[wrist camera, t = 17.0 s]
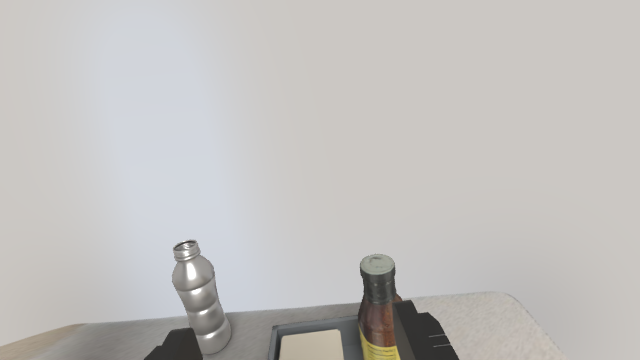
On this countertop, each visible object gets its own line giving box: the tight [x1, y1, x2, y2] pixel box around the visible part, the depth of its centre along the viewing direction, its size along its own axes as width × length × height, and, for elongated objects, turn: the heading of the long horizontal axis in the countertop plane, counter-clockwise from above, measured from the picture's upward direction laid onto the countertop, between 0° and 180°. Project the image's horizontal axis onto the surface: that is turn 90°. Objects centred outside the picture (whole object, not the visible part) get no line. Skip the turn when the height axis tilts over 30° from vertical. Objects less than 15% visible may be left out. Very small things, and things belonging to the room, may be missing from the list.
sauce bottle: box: [358, 254, 402, 360], centre depth 38 cm, size 7×6×20 cm
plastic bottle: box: [172, 240, 231, 355], centre depth 50 cm, size 6×7×20 cm
